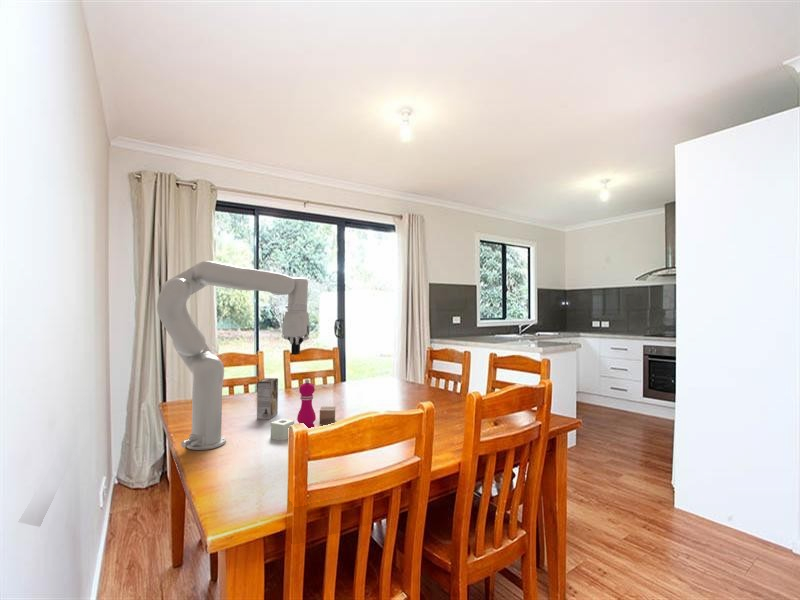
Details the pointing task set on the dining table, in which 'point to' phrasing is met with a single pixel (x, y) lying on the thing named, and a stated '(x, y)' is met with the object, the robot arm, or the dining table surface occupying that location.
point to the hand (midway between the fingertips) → (295, 354)
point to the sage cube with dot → (280, 429)
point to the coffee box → (267, 398)
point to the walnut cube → (327, 415)
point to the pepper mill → (306, 404)
